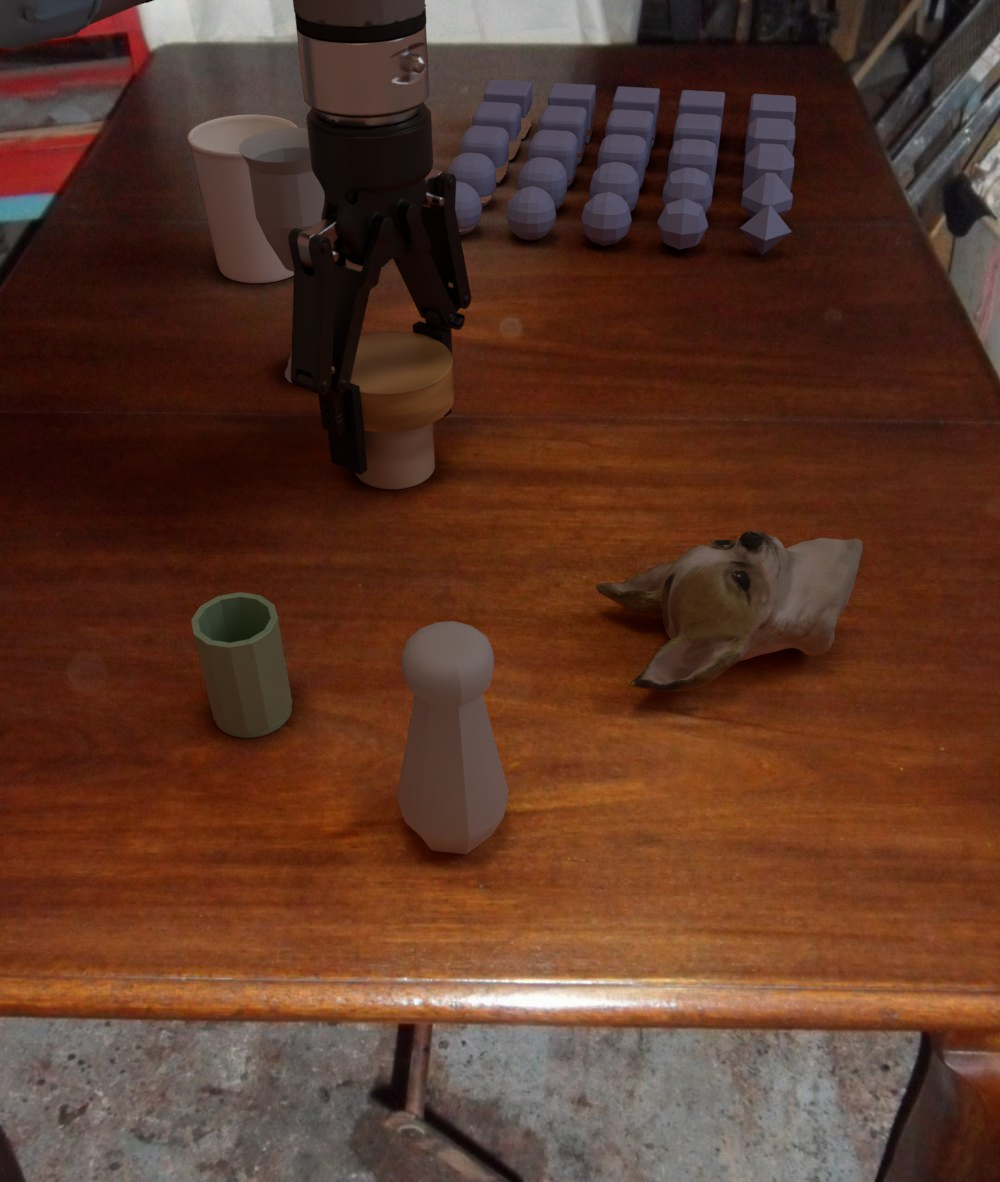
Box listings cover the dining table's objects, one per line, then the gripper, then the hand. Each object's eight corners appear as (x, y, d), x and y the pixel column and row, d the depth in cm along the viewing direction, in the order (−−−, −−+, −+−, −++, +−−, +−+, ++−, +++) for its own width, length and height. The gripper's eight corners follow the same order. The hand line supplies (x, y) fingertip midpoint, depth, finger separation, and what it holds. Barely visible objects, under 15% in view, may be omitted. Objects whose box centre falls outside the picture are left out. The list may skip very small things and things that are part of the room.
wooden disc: (316, 379, 87) (312, 340, 85) (435, 361, 89) (434, 323, 86) (341, 441, 81) (336, 402, 78) (468, 421, 82) (467, 381, 80)
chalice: (314, 343, 102) (287, 121, 90) (374, 365, 100) (356, 139, 87) (254, 378, 98) (217, 149, 86) (316, 402, 95) (287, 169, 83)
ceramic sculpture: (903, 572, 65) (635, 614, 64) (878, 688, 71) (633, 728, 70) (833, 468, 72) (592, 504, 71) (816, 581, 78) (594, 615, 77)
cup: (208, 692, 71) (187, 601, 66) (285, 677, 72) (269, 586, 67) (218, 745, 68) (196, 653, 63) (298, 728, 69) (283, 636, 64)
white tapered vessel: (332, 271, 113) (318, 137, 104) (237, 297, 109) (215, 160, 100) (285, 236, 119) (268, 107, 110) (193, 259, 115) (169, 127, 106)
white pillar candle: (347, 452, 90) (340, 393, 86) (423, 440, 91) (420, 381, 88) (363, 495, 86) (357, 434, 82) (444, 482, 87) (441, 421, 84)
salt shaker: (382, 849, 62) (361, 665, 53) (425, 774, 66) (413, 590, 57) (485, 880, 61) (482, 697, 52) (524, 802, 65) (527, 618, 56)
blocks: (788, 141, 137) (796, 95, 134) (787, 268, 113) (796, 215, 110) (491, 123, 142) (491, 78, 138) (428, 241, 118) (426, 190, 114)
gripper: (288, 173, 63) (332, 524, 79) (524, 70, 76) (521, 391, 91) (190, 145, 66) (250, 487, 82) (431, 50, 79) (444, 363, 95)
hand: (393, 436), depth 87 cm, fingers closed on wooden disc, 9 cm apart
